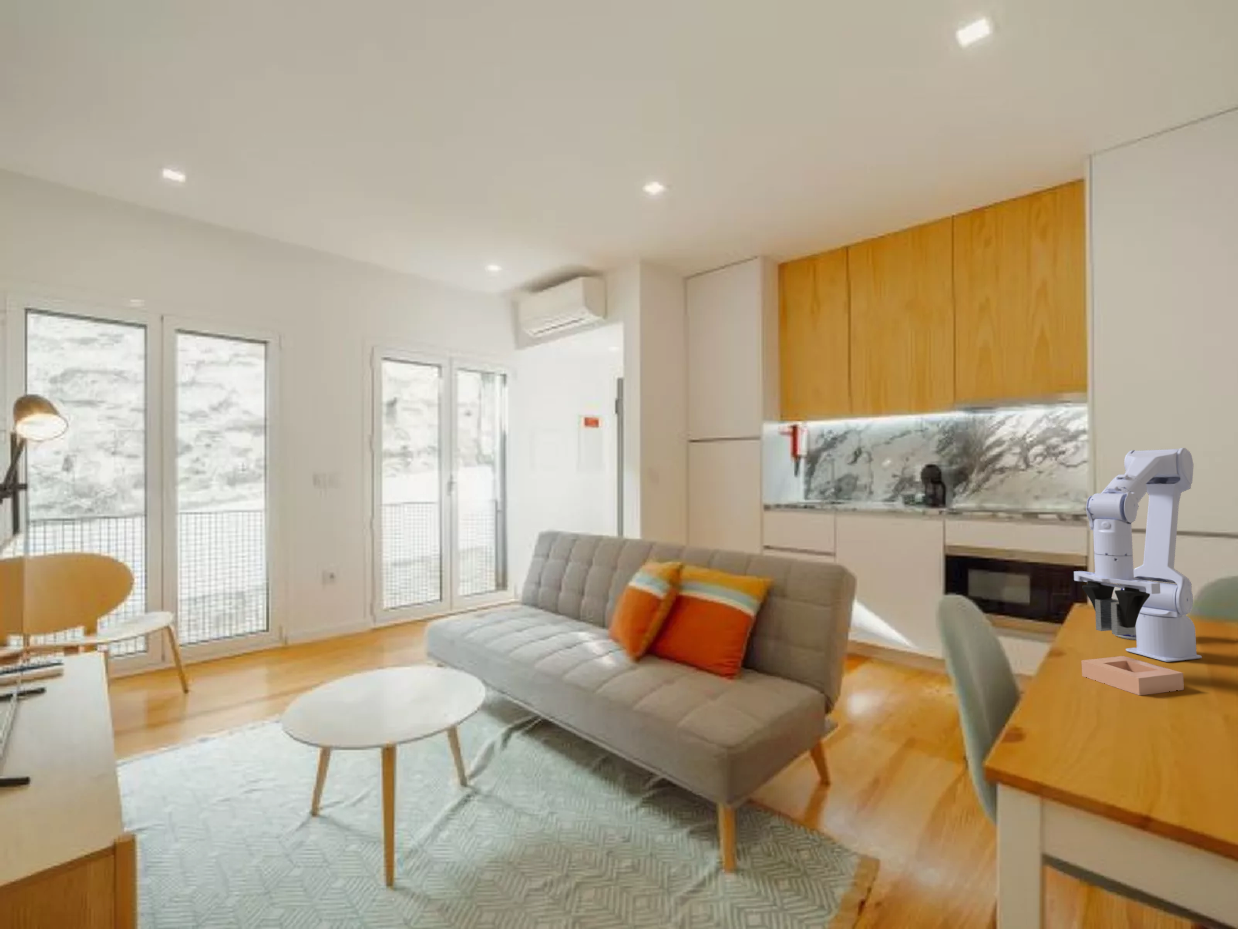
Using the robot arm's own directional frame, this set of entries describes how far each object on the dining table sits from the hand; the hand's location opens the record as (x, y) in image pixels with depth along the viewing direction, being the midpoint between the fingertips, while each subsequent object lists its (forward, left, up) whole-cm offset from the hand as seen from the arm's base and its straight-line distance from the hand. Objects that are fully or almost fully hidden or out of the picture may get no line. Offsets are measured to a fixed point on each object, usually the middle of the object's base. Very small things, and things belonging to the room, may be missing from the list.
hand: (1116, 624), depth 110 cm
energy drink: (-27, -18, -10) cm, 34 cm away
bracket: (0, 0, -2) cm, 2 cm away
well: (+3, +4, -10) cm, 11 cm away
